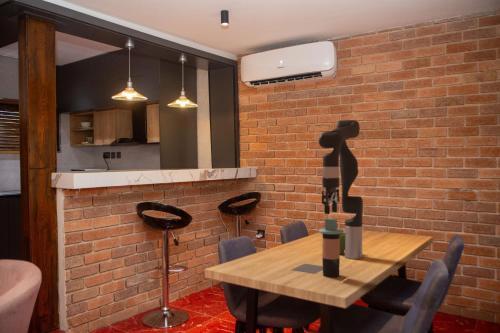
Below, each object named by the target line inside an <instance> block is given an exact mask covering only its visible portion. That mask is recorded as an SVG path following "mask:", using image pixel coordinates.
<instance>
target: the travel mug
mask: <svg viewBox="0 0 500 333" xmlns="http://www.w3.org/2000/svg"><path fill="white" fill-rule="evenodd" d="M321 242H322V250H321V251H322V252H321V253H322V254H321V256H322V257H321V258H322V266H323V270H322V276H323V277H325V278H329V279H331V278H332V279H334V278H336V279H337V278H339V277H340V261H341V259H340V257H341V256H340V255H341V254H340V239H339V234H322V241H321Z"/></svg>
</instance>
